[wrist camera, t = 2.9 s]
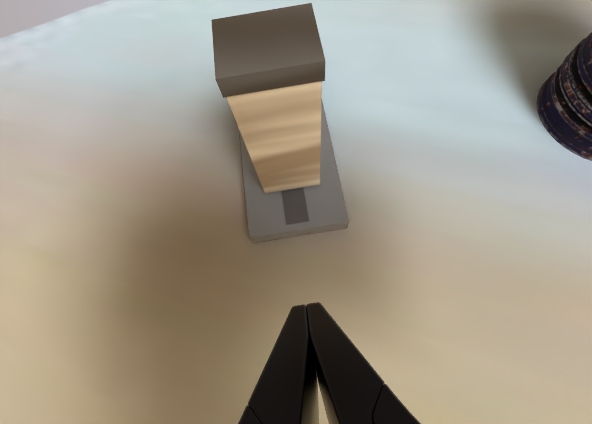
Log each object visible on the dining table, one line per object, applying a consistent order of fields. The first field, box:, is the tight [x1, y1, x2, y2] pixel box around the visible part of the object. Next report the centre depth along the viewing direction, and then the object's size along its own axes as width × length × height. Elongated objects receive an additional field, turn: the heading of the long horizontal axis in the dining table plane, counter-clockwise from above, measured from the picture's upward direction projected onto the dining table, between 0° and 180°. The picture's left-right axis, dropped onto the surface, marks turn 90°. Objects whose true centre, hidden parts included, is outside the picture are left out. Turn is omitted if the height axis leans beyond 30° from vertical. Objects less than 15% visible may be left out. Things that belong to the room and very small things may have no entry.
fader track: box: [239, 98, 349, 243], centre depth 24 cm, size 16×7×2 cm, turn 8°
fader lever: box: [212, 3, 325, 193], centre depth 17 cm, size 3×4×11 cm
